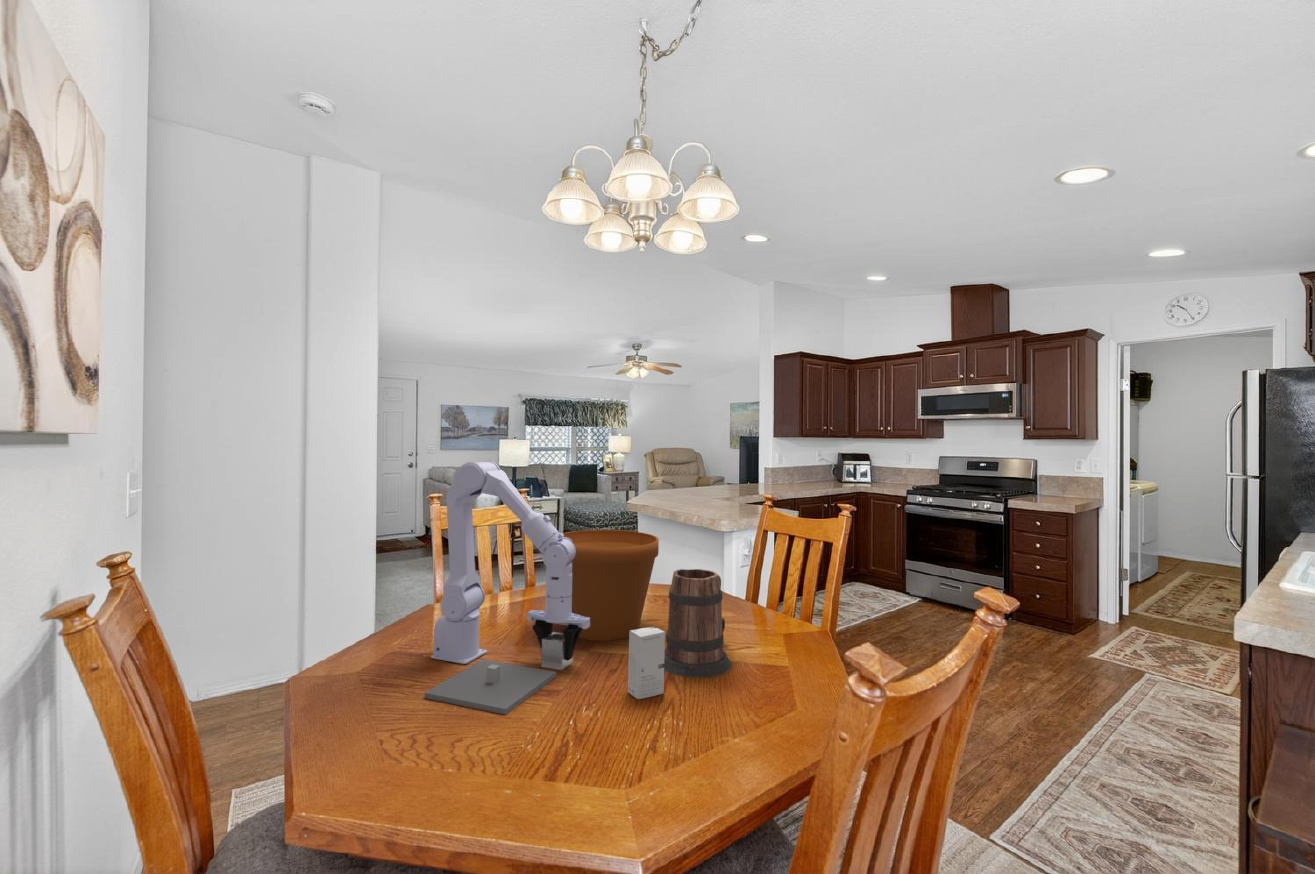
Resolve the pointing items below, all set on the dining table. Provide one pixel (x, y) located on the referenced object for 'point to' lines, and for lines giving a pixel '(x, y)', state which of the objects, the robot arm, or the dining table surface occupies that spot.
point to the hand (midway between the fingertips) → (557, 656)
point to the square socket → (554, 652)
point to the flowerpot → (611, 580)
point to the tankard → (695, 626)
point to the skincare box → (646, 662)
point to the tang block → (491, 686)
